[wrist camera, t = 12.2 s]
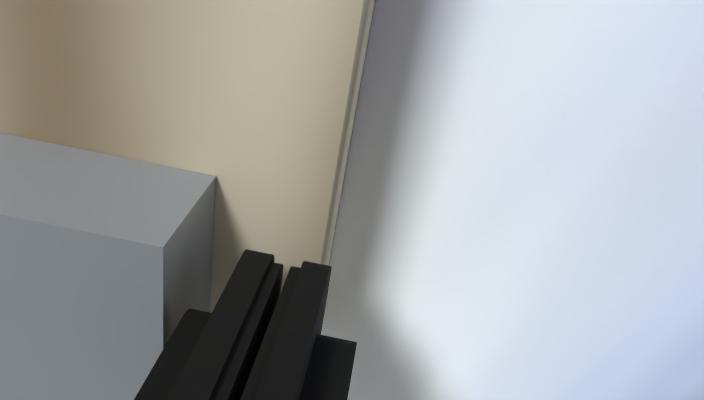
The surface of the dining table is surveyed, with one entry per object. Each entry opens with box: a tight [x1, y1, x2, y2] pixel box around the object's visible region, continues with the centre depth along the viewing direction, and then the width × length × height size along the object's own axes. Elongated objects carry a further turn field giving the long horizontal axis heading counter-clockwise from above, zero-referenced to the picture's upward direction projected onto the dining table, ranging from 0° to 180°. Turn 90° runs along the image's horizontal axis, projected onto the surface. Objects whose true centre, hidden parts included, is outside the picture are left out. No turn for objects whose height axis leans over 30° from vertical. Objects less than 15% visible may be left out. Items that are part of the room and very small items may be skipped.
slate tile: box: [0, 133, 216, 400], centre depth 11 cm, size 4×4×2 cm
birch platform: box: [0, 0, 375, 313], centre depth 12 cm, size 10×16×3 cm, turn 170°
